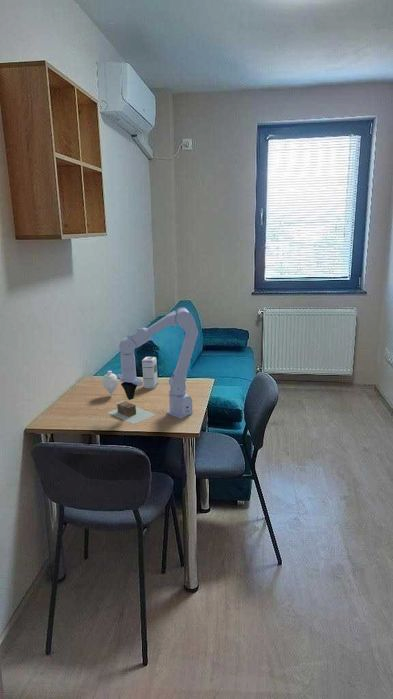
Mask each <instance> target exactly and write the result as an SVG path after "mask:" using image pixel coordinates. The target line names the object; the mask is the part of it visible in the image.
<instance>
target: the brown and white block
mask: <svg viewBox="0 0 393 699" xmlns="http://www.w3.org/2000/svg"><path fill="white" fill-rule="evenodd" d="M115 405H116V409H117V412H118V413H120V414H122V415H125V416H127V417H130V416H133V415H135V414H136V407H137V406H136V404H134V403H131V402H128V401H125V400H122V401H118V402H116V403H115Z"/></svg>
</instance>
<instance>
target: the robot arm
mask: <svg viewBox="0 0 393 699" xmlns="http://www.w3.org/2000/svg"><path fill="white" fill-rule="evenodd" d="M177 325H178V326H179V327H180V328H181V329H182V330H183V332H185V335H184V338H183V342H182V345H181V348H180V352H179V356H178V361H177V363H176V367H175V369H174V370H173V374H172V376H170V378H169V380H168V383H169V387H170V388H169V391H168V399H169V409H168V410H167V411H165V413H166V414H168V415H171V416H172V417H176V418H179V419H183V418H185V417H188V416H189V415H191V414H194V413H195V412H194V411H193V410H194V409H193V399H192V397H191V396H190V395H189V394H188V393H187V387H186V382H187V376H188V375H187V374H188V370H189V367H190V363H191V360H192V356H193V353H194V349H195V346H196V343H197V338H198V336H199V330H198V326H197V323H196V321H195V318H194V316H193V315H192V313H191V312H190V310H189V309H188V308H186V307H178V308H177V309H176V310H172V311H171V312H169V313H168V314H166V315H165V316H163V317H162V318H160V319H159V320H157V321H156V322H155V323H153V324H152V325H150V326H149V327H138V328H137V329H136V331H135V332H132V334H128V335H126V337H123V338H122V339H121V340H120V341H119V346H118V347H119V351H120V353H119V354H120V366H121V367H120V368H121V373H118V374H116V376H117V379H118V380H119V381H120V382H121V383H120V385H121V387H122V388H123V389H124V390H123V391H124V392H125V395H126V398H127V400H129V401H131V400H133V399H135V394H136V389H137V387H141V386H144V381H143V380H141V379H140V378H139V377H138V376H137V369H136V356H135V352H134V351H135V349H137V348H139V347H141V346H142V345H144V344H146V343H148V342H149V341H151V339H152V336H153V335H154V334H156V333H158V332H160V331H162V330H164V329H166V328H167V327H169V326H170V327H171V326H172V327H177Z"/></svg>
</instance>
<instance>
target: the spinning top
mask: <svg viewBox="0 0 393 699" xmlns="http://www.w3.org/2000/svg"><path fill="white" fill-rule="evenodd" d="M119 381H120V379H119V380H118V379H117V374H115V373H113V371H112V370H107V373H106V374H104V376H103V377H102V379H101V383H102V384H101V385H103V387H104V389H105V390H106V391H107V392H108V393H109V394H110V395H111V396H113V393H114V392H115V391H116V388H117V387H118V386H119V383H120V382H119Z"/></svg>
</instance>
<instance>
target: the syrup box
mask: <svg viewBox="0 0 393 699" xmlns="http://www.w3.org/2000/svg"><path fill="white" fill-rule="evenodd" d="M157 361H158V360H157V357H156V356H145V357H144V358H143V359H142V360H141V365H142V366H141V367H142V378H143V380H142V382H143V388H145V389H156V388H157V387H158V385H159V380H158V379H159V378H158V363H157Z"/></svg>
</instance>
